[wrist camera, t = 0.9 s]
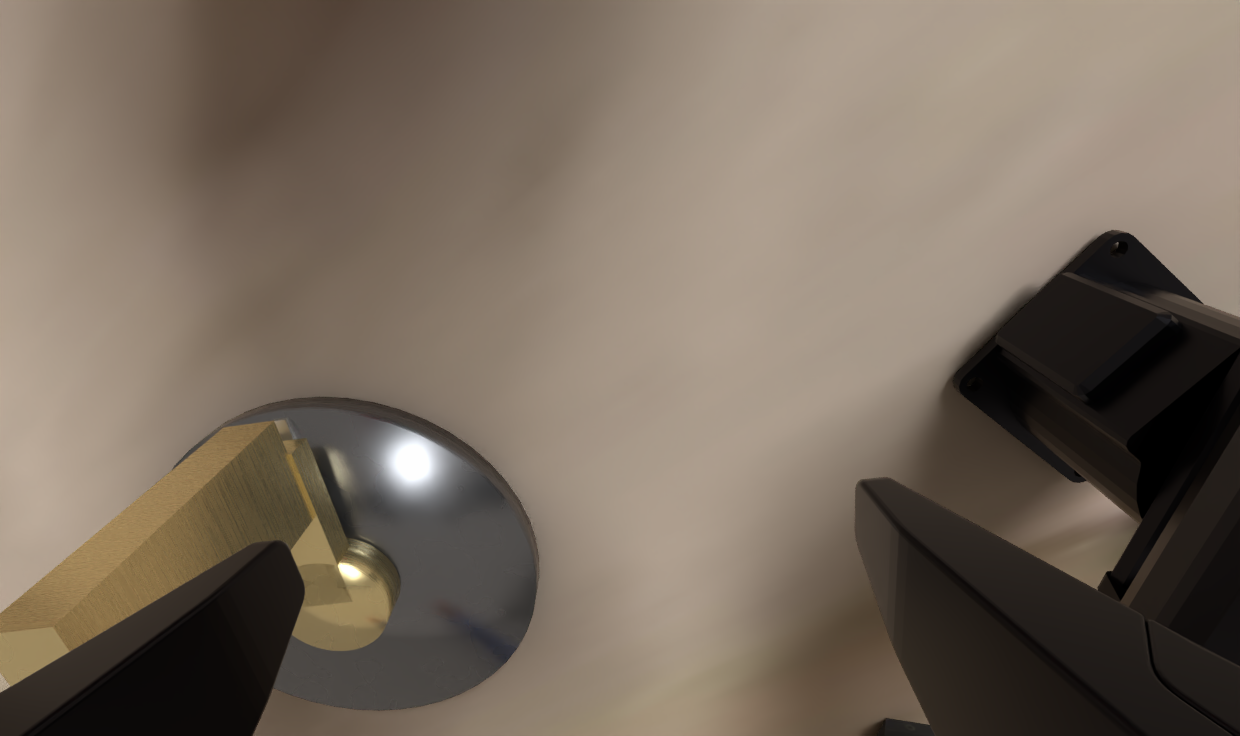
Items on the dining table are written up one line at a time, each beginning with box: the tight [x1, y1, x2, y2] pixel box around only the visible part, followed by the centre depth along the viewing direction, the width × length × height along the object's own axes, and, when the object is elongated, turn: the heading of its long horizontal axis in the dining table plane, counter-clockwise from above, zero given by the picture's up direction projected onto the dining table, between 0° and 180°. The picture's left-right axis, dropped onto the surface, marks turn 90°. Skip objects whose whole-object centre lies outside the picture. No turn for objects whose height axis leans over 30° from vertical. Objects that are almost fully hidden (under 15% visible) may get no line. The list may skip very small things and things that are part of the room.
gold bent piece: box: [0, 421, 401, 686], centre depth 18 cm, size 9×4×9 cm, turn 8°
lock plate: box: [172, 397, 539, 710], centre depth 24 cm, size 14×14×1 cm
